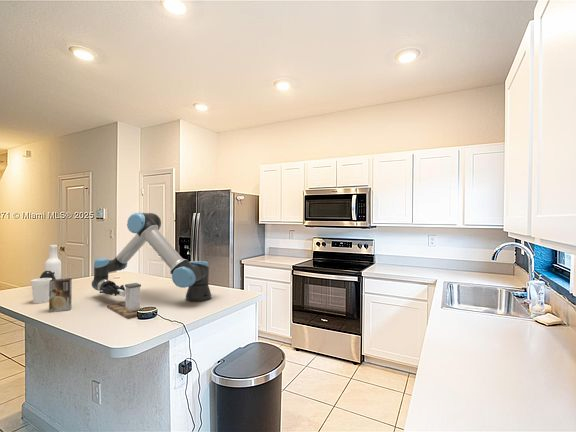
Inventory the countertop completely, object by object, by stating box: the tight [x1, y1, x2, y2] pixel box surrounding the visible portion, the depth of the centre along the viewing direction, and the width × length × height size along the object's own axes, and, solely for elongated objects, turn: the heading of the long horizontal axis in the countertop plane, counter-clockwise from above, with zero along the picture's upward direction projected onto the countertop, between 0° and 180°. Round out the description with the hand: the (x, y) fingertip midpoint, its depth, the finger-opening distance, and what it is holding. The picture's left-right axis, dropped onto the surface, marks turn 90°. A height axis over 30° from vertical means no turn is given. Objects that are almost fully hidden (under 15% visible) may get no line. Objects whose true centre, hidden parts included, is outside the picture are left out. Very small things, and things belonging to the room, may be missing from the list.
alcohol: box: [44, 244, 62, 279], centre depth 206 cm, size 9×9×30 cm
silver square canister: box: [124, 282, 142, 312], centre depth 157 cm, size 6×6×13 cm
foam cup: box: [30, 277, 52, 305], centre depth 175 cm, size 10×9×13 cm
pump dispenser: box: [39, 270, 56, 279], centre depth 192 cm, size 10×10×15 cm
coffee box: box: [48, 277, 73, 313], centre depth 161 cm, size 9×6×16 cm
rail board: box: [106, 300, 143, 320], centre depth 161 cm, size 28×10×2 cm, turn 49°
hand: (123, 293), depth 164 cm, fingers closed
